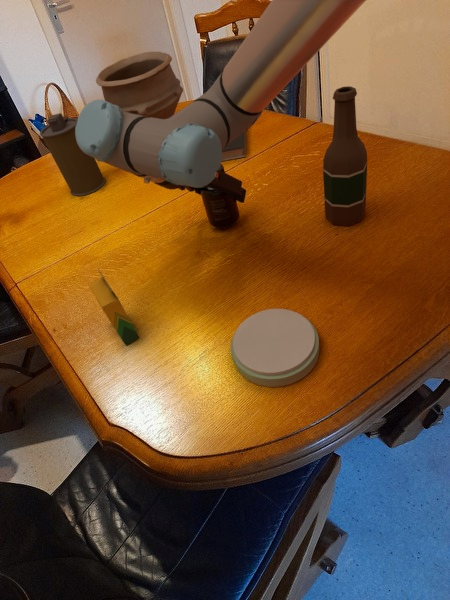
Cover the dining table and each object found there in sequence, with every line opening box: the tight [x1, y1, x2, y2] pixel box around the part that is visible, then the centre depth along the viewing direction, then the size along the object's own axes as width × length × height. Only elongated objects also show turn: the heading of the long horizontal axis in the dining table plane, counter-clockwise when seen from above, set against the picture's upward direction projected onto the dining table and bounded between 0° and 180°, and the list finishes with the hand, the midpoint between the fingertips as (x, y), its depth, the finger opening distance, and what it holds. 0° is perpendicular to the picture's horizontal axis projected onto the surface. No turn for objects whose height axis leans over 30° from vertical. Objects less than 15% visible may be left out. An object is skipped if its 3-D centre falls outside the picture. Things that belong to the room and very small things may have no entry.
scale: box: [230, 308, 320, 388], centre depth 60 cm, size 13×13×3 cm
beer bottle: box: [322, 85, 368, 227], centre depth 73 cm, size 8×8×24 cm
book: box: [221, 130, 247, 163], centre depth 116 cm, size 22×15×3 cm
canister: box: [39, 112, 106, 197], centre depth 110 cm, size 11×10×20 cm
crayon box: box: [88, 268, 141, 347], centre depth 67 cm, size 7×3×12 cm, turn 32°
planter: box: [95, 51, 184, 119], centre depth 124 cm, size 25×24×22 cm
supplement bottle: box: [200, 163, 240, 229], centre depth 83 cm, size 7×7×12 cm
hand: (228, 194), depth 87 cm, fingers closed on supplement bottle, 7 cm apart
